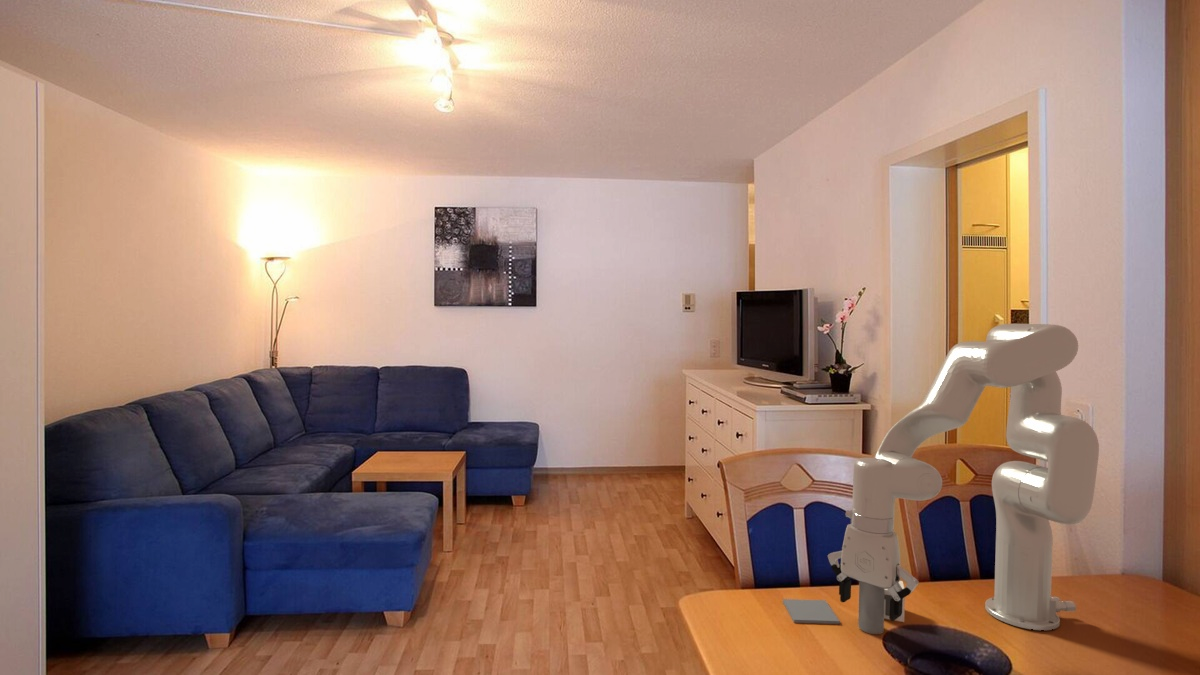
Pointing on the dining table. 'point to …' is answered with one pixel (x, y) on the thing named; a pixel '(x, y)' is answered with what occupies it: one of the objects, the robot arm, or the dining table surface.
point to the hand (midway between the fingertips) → (869, 608)
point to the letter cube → (887, 604)
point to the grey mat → (810, 611)
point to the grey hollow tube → (871, 608)
